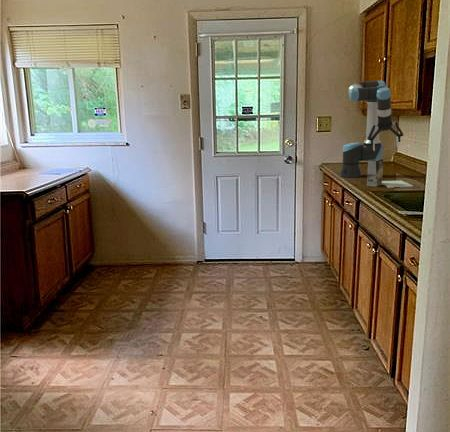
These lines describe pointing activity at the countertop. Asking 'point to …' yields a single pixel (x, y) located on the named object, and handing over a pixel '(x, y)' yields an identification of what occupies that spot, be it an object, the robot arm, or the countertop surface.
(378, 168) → the coffee box
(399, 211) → the countertop surface
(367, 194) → the countertop surface
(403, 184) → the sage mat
